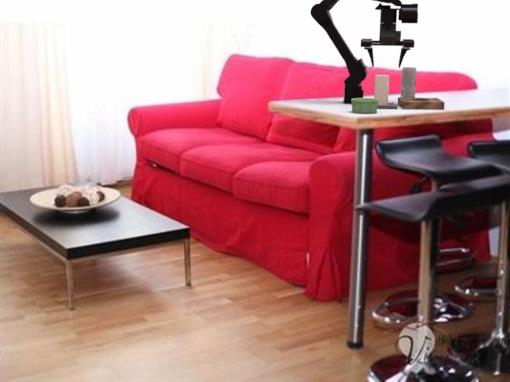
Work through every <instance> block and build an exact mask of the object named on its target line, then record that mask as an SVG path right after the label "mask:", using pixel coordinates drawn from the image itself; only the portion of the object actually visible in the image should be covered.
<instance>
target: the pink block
mask: <svg viewBox="0 0 510 382" xmlns="http://www.w3.org/2000/svg"><path fill="white" fill-rule="evenodd" d="M389 90H390V75H389V74H375V75H374V92H373V93H374V95H373V98H374V99H378V100H379V101H378V105H388V103H389V93H390V91H389Z"/></svg>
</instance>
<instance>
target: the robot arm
mask: <svg viewBox="0 0 510 382" xmlns="http://www.w3.org/2000/svg"><path fill="white" fill-rule="evenodd" d="M339 1H340V0H321V1H320V2H319V3H316V4H314V5H313V6H311V9H310V16H311V17H312V19H314V21H315V22H316V23H317V24H318V25H319V26H320V27H321V28H322V29H323V30H324V31H325V33H326V34H327V36H328V37H329V39H330V41H331V42H332V43H333V45H334V47H335V48H336V50H337V52H338V53H339V55H340V56H341V58H342V59H343V61H344V63H345V67H346V69H347V72H348V75H349V76H348V77H346V78H345V80H344V81H343V83H344V85H343V100H342V101H343V104H352V101H351V99H353V98H364V90H363V85H361V84H362V82H363V81H365V80H366V79H367V77H368V74H369V73H368V72H369V71H368V68H369V67H368V66H367V65H366V64H365V63H364V61H363V58H362V57H361V58H360V59H358V58H357V57H356V56H355V55H354V54H353V52H352V50H351V49H350V47H349V45H348V44H347V42H346V41H345V39H344V38H343V36H342V34H341V33H340V32H339V29H338V28H337V27H336V25H335V24H334V20H333V17H332V15H331V10H332V9H333V8H334V7H335V6H336V4H338V2H339ZM372 1H374V2H378V3H379V4H378V5H377V6H376V7H375V8H374V9H375V11H377V10H379V11H380V18H379V38H378V39H379V40H373V39H372V38H362V39H360V47H361V48H364V49H363V50H366V51H367V53H368V55H369V58H370V62H371V66H372V69H373V68H374V67H375V61H374V50H373V47H376V46H381V47H382V46H384V47H385V46H386V47H389V46H390V47H391V46H392V47H393V46H394V47H401V48H400V53H399V58H398V59H399V60H398V69H400V68H401V65H402V63H403V60H404V58H405V57H406V56H405V55H406V53H407V52H408V51H410V50H411V48H415V40H414V39H413V38H408V39H407V38H402V31H401V30H397V18H398V21H400V22H401V24H418V21H419V4H418V3H403V1H401V0H372ZM382 3H384V4H382ZM385 4H388V5H385ZM390 4H392V5H394V6H395V7H400V8H393V7H392V6H391V5H390ZM397 16H398V17H397ZM401 38H402V40H401Z"/></svg>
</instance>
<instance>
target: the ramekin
mask: <svg viewBox="0 0 510 382" xmlns="http://www.w3.org/2000/svg"><path fill="white" fill-rule="evenodd" d="M351 101H352V103H351V110H352V111H351V112H352V113H353V112H354V114H360V113H361V114H360V115H362V114H363V115H365V114H366V115H369V114H376V113H377V112H378V109H377V105H378V101H379V100H378V99H374V97H373V98H372V97H368V98H367V97H363V98H353V99H351Z"/></svg>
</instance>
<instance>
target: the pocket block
mask: <svg viewBox="0 0 510 382" xmlns="http://www.w3.org/2000/svg"><path fill="white" fill-rule="evenodd" d="M445 103H446V102H445V101H443V100H442V99H440V98H438V97H415V98H403V97H401V96H399V97H397V106H399V107H400V108H401V109H402V110H436V109H438V110H439V111H440V110H442V111H443V110H445Z"/></svg>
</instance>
